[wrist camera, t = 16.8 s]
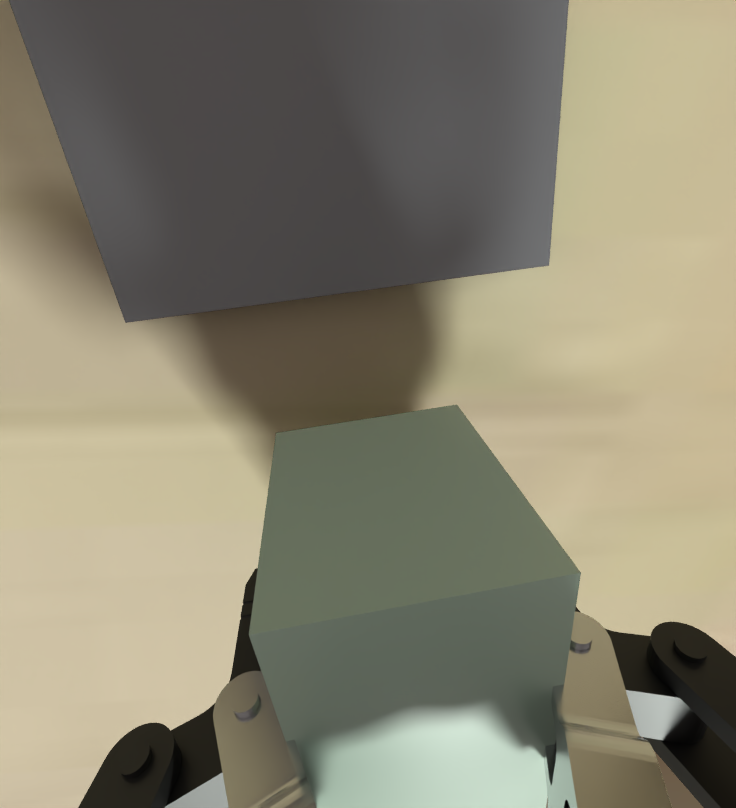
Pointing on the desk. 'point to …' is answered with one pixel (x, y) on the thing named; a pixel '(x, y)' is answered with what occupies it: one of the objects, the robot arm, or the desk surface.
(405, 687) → the mint green block
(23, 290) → the desk surface
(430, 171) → the base board
